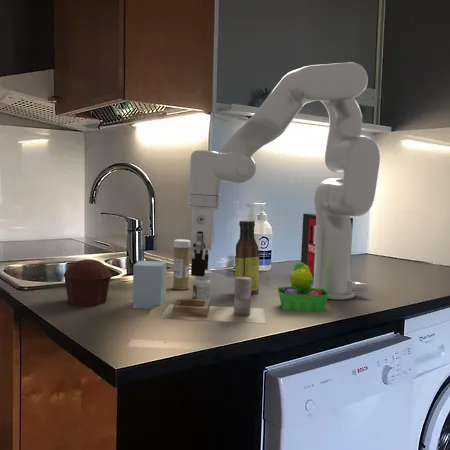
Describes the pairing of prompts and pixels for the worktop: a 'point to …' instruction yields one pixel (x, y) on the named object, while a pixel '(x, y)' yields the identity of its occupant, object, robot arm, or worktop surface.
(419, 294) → the worktop surface
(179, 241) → the sprinkles bottle
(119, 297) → the worktop surface
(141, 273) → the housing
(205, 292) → the pill bottle
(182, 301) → the board
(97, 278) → the muffin
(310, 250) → the cleaning product box
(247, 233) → the sauce bottle
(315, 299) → the fruit basket
